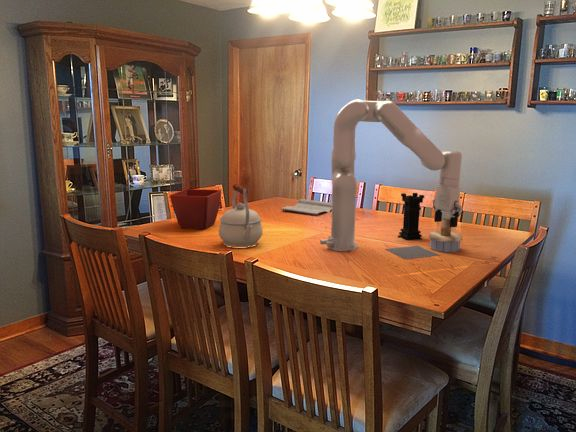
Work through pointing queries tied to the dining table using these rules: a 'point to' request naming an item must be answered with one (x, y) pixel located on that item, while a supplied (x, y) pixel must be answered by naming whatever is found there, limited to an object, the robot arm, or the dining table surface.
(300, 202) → the mat
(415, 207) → the chess piece
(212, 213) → the plant pot
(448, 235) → the lid
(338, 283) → the dining table surface
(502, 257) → the dining table surface
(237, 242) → the kettle
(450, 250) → the bowl
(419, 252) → the rubber mat
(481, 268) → the dining table surface
